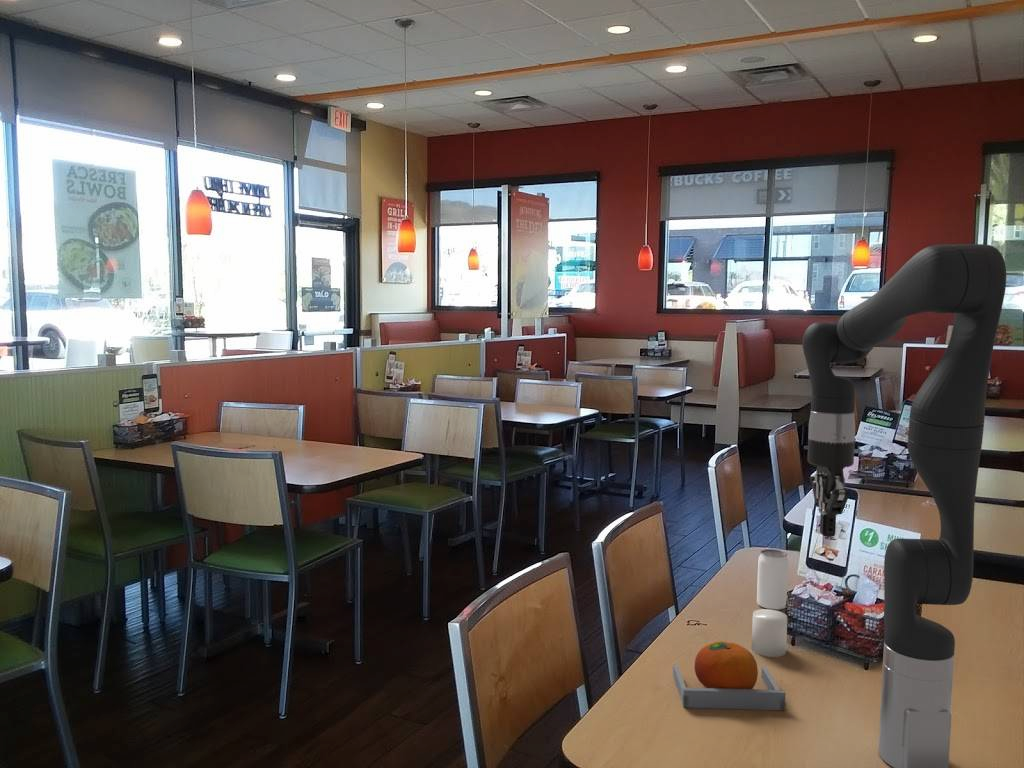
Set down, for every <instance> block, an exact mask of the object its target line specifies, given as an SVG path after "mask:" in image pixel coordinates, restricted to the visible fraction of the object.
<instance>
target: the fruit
mask: <svg viewBox="0 0 1024 768" xmlns="http://www.w3.org/2000/svg"><path fill="white" fill-rule="evenodd" d="M693 667H694V672H695V675H696V678H697V680H698V681H699V682H700V684H701V685H702V686H704V688H721V689H754V687H755V686H756V683H757V681H758V676H759V675H758V674H759V671H758V664H757V661H756V659H755V656H754V655H753V653H751V652H750V651H749V650H748V649H747V648H745V647H743V646H742V645H740V644H738V643H735V642H728V641H715V642H712V643H710V644H707V645H705V646H703V647H701V648H700V649H699V651H698V652H697V654H696V656H695V660H694V666H693Z"/></svg>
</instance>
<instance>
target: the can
mask: <svg viewBox="0 0 1024 768" xmlns="http://www.w3.org/2000/svg"><path fill="white" fill-rule="evenodd" d="M757 562H758V563H757V564H758V565H757V580H756V581H757V583H756V584H757V587H756V604H757V605H758V606H759V607H760V608H761V609H765V608H766V609H771V610H776V611H780V610H781V609H782V610H784V609H785V608H786V607H785V603H786V595H787V592H788V593H789V590H788V589H789V569H790V568H789V567H790V565H789V564H790V561H789V558H788V553H787V552H786V551H784V550H779V549H773V548H772V549H771V548H770V549H769V548H767V549H763V550H760V555H759V556H758V560H757ZM787 596H788V595H787ZM782 610H781V611H782Z"/></svg>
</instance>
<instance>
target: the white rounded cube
mask: <svg viewBox="0 0 1024 768" xmlns="http://www.w3.org/2000/svg"><path fill="white" fill-rule="evenodd" d="M751 625H752V628H751V630H752V631H751V632H752V633H751V650H752V652H754V653H756V654H757V655H759V656H763V657H766V658H767V657H768V658H780V657H783V656H785V655H786V654H787V638H788V637H787V636H788V616H787V614H786V613H784V612H782V611H780V610H770V609H765V608H760V609H756V610H754V611H753V613H752V624H751Z"/></svg>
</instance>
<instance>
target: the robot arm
mask: <svg viewBox="0 0 1024 768" xmlns="http://www.w3.org/2000/svg"><path fill="white" fill-rule="evenodd" d="M1006 287H1007V266H1006V260H1005V259H1004V257H1003V255H1002V253H1001V252H1000V250H999V248H997V247H995V246H993V245H989V244H982V243H979V244H978V243H976V244H975V243H973V244H972V243H971V244H969V243H968V244H967V243H966V244H965V243H964V244H962V243H961V244H960V243H958V244H957V243H955V244H953V243H952V244H947V243H946V244H935V245H930V246H927V247H925V248H922V249H921V250H919V251H918V252H916V253H915V255H913V256H912V257H911V258H910V259H908V260H907V261H906V262H905V263H904V265H903V266H902V267H900V269H899V270H898V271H897V272H895V274H894V275H893V276H892V277H891V278H889V280H887V282H886V283H885V284H884V285H883V286H881V288H879V290H878V291H877V292H876V293H874V294H873V295H872V296H871V297H869V298H867V299H866V300H864V301H862V302H860V303H859V304H857V305H856V306H853V307H852V308H850V309H849V310H847V311H846V312H845V313H844V314H843V315H842V316H841V317H840V318H839V320H838V321H837V322H835V321H833V322H832V321H817V322H814V323H811V324H810V325H809V326H807V328H806V329H805V331H804V333H803V337H802V350H803V355H804V358H805V362H806V363H805V364H806V367H807V371H808V375H809V381H810V387H811V399H810V400H811V401H810V415H809V421H808V432H807V433H808V439H807V462H808V463H809V464H810V465H813V466H815V467H816V469H815V472H816V473H815V474H814V475H811V476H810V483H811V488H812V489H811V490H812V493H813V498H814V505H815V507H816V508H818V509H817V510H818V513H819V514H820V516H819V517H820V518H819V533H820V534H821V535H822V536H823V537H829V538H830V537H833V538H834V537H835V536H836V529H837V527H836V525H837V524H836V522H837V516H838V515H842V514H843V512H844V509H845V506H846V505H847V502H848V499H849V497H850V490H849V489H846V488H845V489H844V487H845V485H846V478H845V476H844V475H845V474H844V469H845V468H850V467H852V466H853V465H854V464H855V463H854V462H855V443H856V441H855V439H856V421H855V401H856V400H855V399H856V384H855V382H854V381H853V380H852V379H850V378H848V377H844V376H839V375H835V373H834V372H833V369H832V368H831V364H851V363H857V362H859V361H862V360H864V359H866V358H867V356H868V355H869V353H870V352H872V350H873V349H874V347H876V346H878V345H881V344H882V343H884V342H886V341H888V340H890V339H892V338H893V337H895V336H896V335H897V334H898V333H899V332H900V331H902V328H903V326H904V325H905V323H906V319H907V317H909V316H915V315H917V314H925V313H934V314H954V319H953V325H952V330H951V335H950V339H949V342H948V345H947V346H946V349H945V351H944V354H942V356H941V358H940V360H939V361H938V362H937V364H936V365H935V367H934V368H933V370H931V372H930V373H929V375H928V376H927V378H926V379H925V381H924V382H923V383H922V385H921V387H920V388H919V390H918V391H917V393H916V394H915V396H914V398H913V401H912V403H911V406H910V410H909V411H910V412H909V421H908V423H909V424H908V431H907V432H908V433H907V443H906V444H907V446H906V447H907V452H908V456H909V458H910V460H911V463H912V465H913V466H914V468H915V469H916V472H917V474H918V475H919V477H920V479H921V480H922V481H923V483H924V485H925V486H926V488H927V489H928V491H929V493H930V495H931V497H932V498H933V500H934V503H935V505H936V507H937V510H938V513H939V521H940V532H939V533H940V534H939V538H938V539H929V538H926V539H925V538H924V539H923V538H895V539H892V540H891V541H890V542H889V543H888V545H887V547H886V549H885V554H884V560H883V561H884V563H883V583H884V584H883V586H884V587H883V590H884V591H883V593H884V597H883V598H884V600H883V625H884V628H883V629H884V638H883V639H884V640H883V655H882V658H883V659H882V671H881V673H882V674H881V675H882V676H881V690H880V691H881V693H880V711H879V713H880V714H879V734H878V755H879V757H880V758H881V759H882V761H883V762H885V763H886V764H888V765H889V766H891V767H892V768H949V766H950V765H949V764H950V763H949V761H950V748H951V730H952V717H953V716H952V714H951V711H952V710H951V709H952V692H953V679H954V678H953V677H954V664H955V663H954V661H955V649H956V648H955V647H956V640H955V636H954V634H953V632H952V631H951V630H950V629H948V628H947V627H945V626H944V625H942V624H940V623H938V622H936V621H934V620H931V619H928V618H926V617H923V616H922V615H919V614H917V610H916V605H934V606H935V605H936V606H937V605H938V606H956V605H961V604H964V603H965V602H966V601H967V599H968V598H969V595H970V593H971V589H972V586H973V578H974V560H975V559H974V558H975V557H974V556H975V555H974V554H975V553H974V551H975V550H974V547H975V546H974V545H975V543H974V538H975V535H974V533H975V529H974V528H975V527H974V526H975V504H976V493H977V485H978V484H977V483H978V475H979V467H980V460H981V452H982V447H983V446H982V445H983V439H984V429H985V417H986V402H987V401H986V399H987V392H988V391H987V390H988V384H989V377H990V370H991V361H992V356H993V351H994V346H995V341H996V337H997V332H998V328H999V324H1000V323H999V322H1000V318H1001V314H1002V310H1003V304H1004V300H1005V294H1006Z"/></svg>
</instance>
